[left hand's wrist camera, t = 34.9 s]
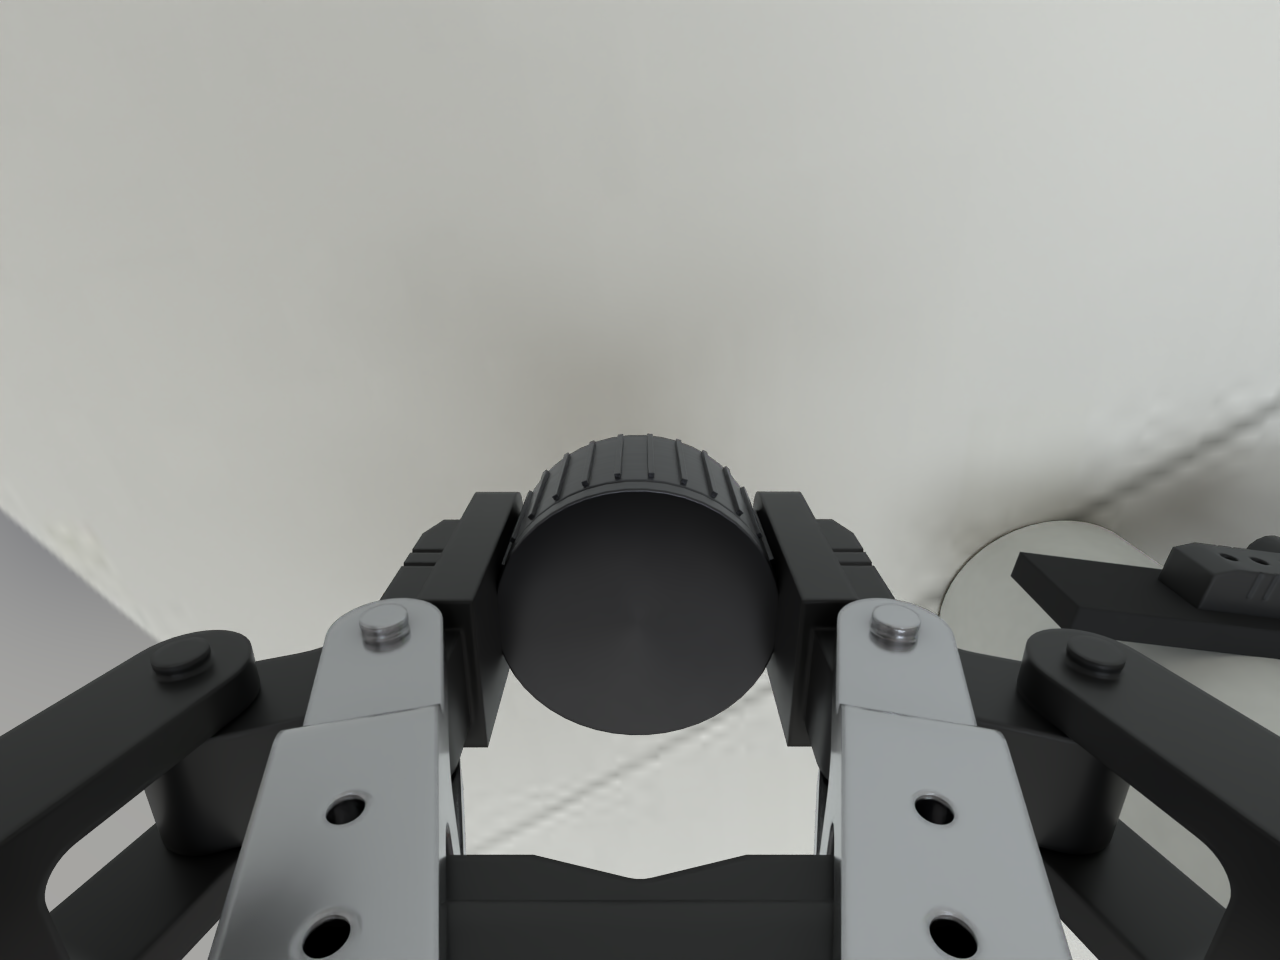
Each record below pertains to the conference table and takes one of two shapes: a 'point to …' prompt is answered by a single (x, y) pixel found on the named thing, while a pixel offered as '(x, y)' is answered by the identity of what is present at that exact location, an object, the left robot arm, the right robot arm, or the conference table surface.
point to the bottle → (1007, 616)
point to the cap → (637, 588)
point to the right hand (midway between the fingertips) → (990, 717)
